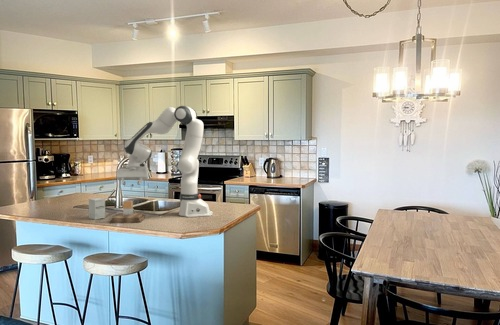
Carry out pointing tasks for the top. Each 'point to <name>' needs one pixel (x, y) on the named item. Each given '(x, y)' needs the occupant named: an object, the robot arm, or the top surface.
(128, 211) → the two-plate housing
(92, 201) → the supplement box
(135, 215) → the walnut stand
